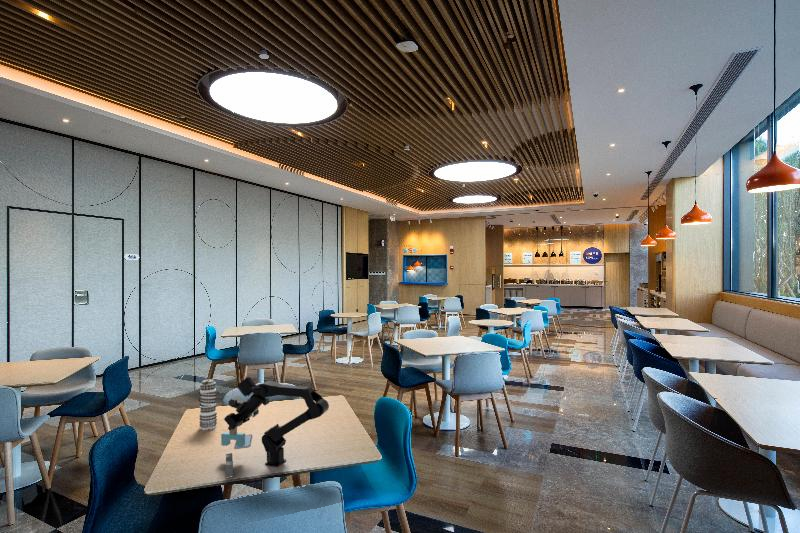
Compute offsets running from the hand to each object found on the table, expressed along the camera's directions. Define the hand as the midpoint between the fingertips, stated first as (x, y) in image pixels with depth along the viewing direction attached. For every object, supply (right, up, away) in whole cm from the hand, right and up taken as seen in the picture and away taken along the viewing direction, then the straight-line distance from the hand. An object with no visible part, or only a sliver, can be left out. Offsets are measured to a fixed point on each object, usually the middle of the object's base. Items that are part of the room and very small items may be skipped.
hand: (230, 428), depth 186 cm
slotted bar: (+4, -13, -12) cm, 18 cm away
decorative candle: (-28, -15, +41) cm, 52 cm away
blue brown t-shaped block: (+1, -7, 0) cm, 7 cm away
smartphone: (-1, -15, +19) cm, 24 cm away
